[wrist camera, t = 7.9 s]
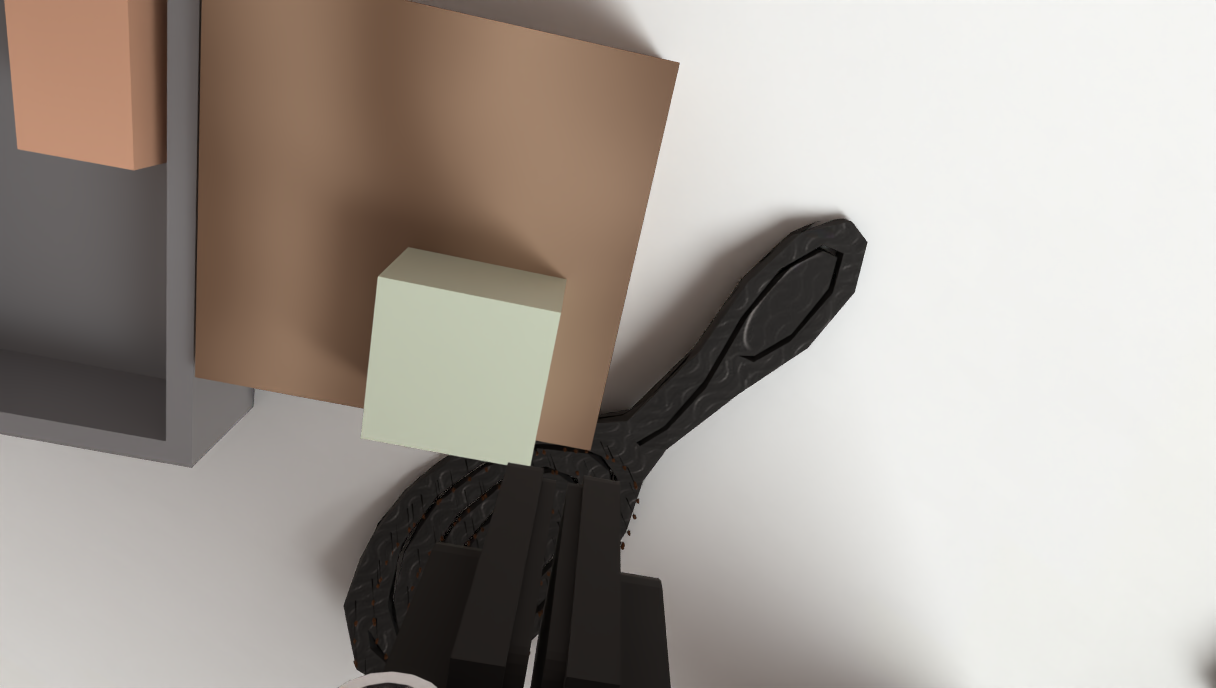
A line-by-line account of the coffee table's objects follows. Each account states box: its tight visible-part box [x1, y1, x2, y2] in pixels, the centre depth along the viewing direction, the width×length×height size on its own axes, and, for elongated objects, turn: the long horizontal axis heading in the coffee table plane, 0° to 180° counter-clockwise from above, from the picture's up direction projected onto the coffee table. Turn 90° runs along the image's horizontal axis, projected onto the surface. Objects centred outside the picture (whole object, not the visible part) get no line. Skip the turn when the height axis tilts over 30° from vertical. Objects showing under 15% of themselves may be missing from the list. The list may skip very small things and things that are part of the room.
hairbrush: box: [344, 219, 867, 675], centre depth 28 cm, size 8×4×25 cm
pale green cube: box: [361, 247, 567, 466], centre depth 20 cm, size 4×4×3 cm
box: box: [0, 0, 254, 468], centre depth 23 cm, size 12×16×4 cm
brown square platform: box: [195, 0, 680, 450], centre depth 23 cm, size 12×12×5 cm
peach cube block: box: [4, 0, 167, 170], centre depth 21 cm, size 4×4×3 cm
